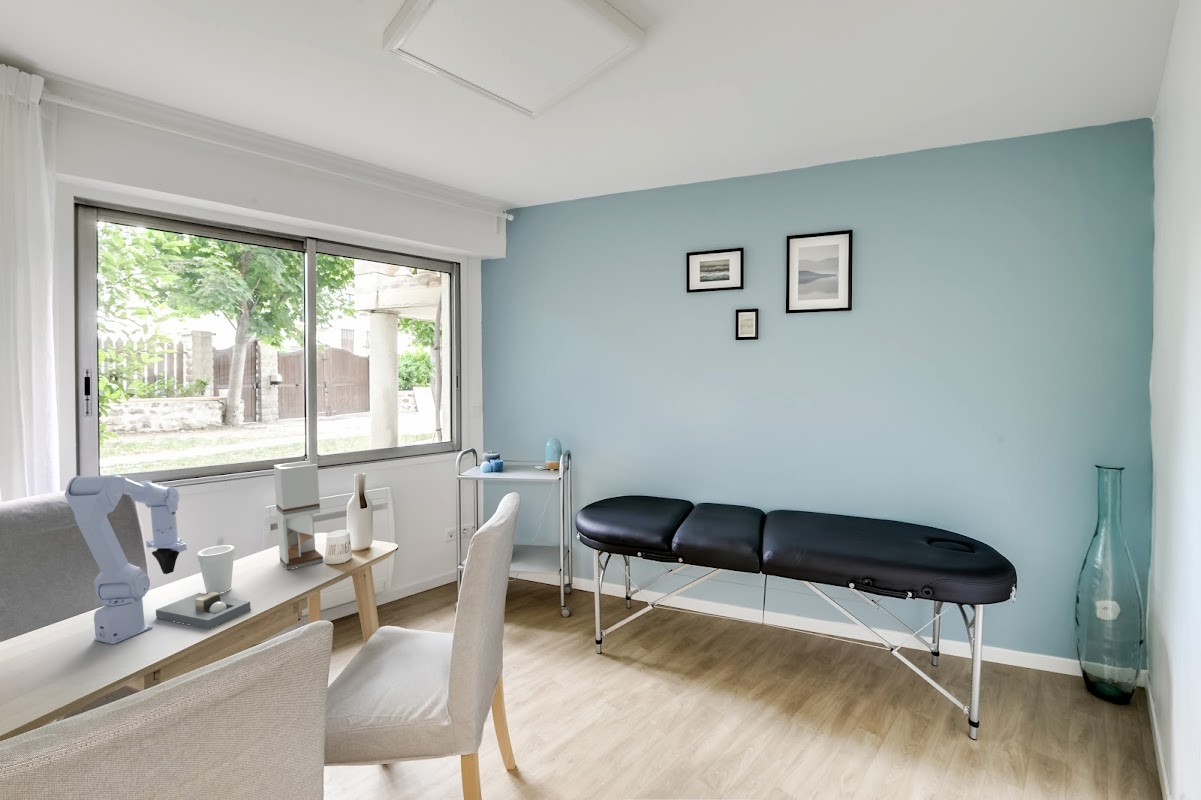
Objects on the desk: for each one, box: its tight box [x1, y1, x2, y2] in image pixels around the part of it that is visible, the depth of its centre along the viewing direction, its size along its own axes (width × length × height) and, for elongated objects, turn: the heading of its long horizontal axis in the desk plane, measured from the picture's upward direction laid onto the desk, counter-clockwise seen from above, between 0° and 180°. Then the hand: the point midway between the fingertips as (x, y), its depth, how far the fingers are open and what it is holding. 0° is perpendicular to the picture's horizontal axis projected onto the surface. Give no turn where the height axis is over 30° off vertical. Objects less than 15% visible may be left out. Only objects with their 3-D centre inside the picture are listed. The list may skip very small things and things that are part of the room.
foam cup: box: [197, 544, 235, 594], centre depth 174 cm, size 10×9×13 cm
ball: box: [209, 602, 227, 614], centre depth 156 cm, size 4×4×4 cm
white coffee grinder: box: [273, 460, 324, 570], centre depth 197 cm, size 11×11×35 cm
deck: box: [155, 592, 251, 630], centre depth 158 cm, size 12×21×2 cm, turn 70°
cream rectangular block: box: [195, 592, 221, 611], centre depth 158 cm, size 5×3×3 cm
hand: (168, 572), depth 166 cm, fingers closed
